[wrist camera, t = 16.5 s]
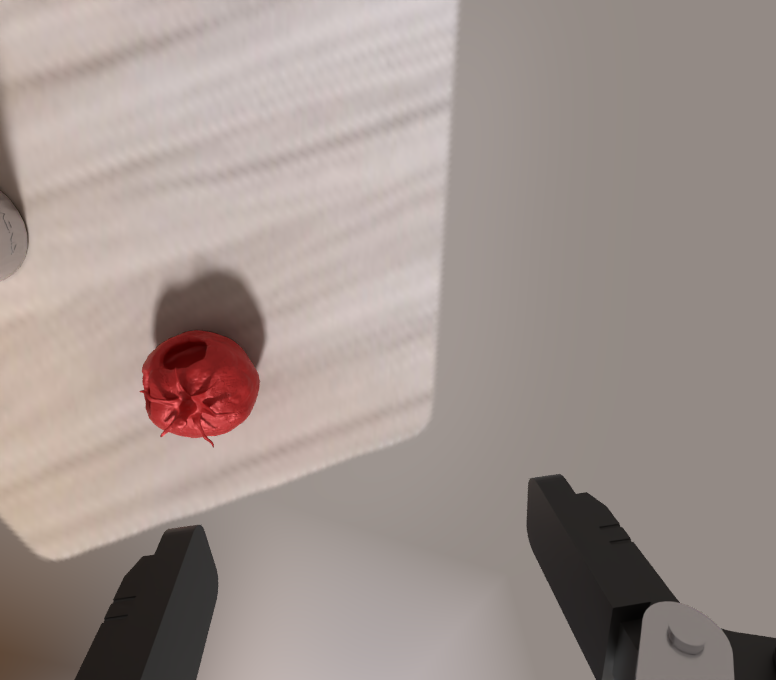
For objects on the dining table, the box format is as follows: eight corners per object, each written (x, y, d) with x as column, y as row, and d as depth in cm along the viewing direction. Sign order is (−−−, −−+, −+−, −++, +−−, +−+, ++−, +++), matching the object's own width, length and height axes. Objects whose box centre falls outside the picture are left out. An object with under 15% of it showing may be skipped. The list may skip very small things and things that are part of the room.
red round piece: (284, 367, 46) (276, 419, 37) (214, 430, 48) (192, 493, 39) (202, 298, 42) (173, 337, 34) (130, 369, 44) (85, 423, 35)
